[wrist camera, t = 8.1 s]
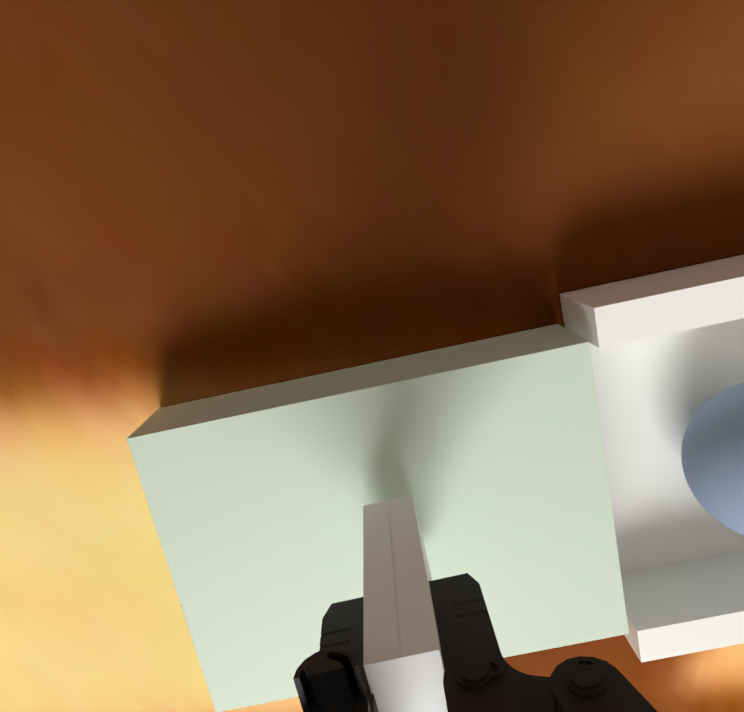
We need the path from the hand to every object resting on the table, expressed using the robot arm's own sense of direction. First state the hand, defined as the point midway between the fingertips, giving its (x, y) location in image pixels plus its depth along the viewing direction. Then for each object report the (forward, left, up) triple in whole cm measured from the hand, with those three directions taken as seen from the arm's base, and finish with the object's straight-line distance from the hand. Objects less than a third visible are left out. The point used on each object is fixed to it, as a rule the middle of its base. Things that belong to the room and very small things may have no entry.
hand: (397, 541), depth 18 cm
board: (0, 0, -4) cm, 4 cm away
